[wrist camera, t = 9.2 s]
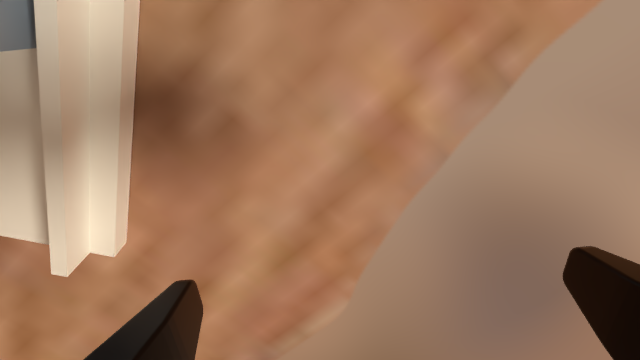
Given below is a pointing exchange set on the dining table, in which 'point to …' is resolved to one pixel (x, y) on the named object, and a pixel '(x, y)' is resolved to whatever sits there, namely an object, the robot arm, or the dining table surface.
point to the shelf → (70, 130)
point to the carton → (17, 25)
